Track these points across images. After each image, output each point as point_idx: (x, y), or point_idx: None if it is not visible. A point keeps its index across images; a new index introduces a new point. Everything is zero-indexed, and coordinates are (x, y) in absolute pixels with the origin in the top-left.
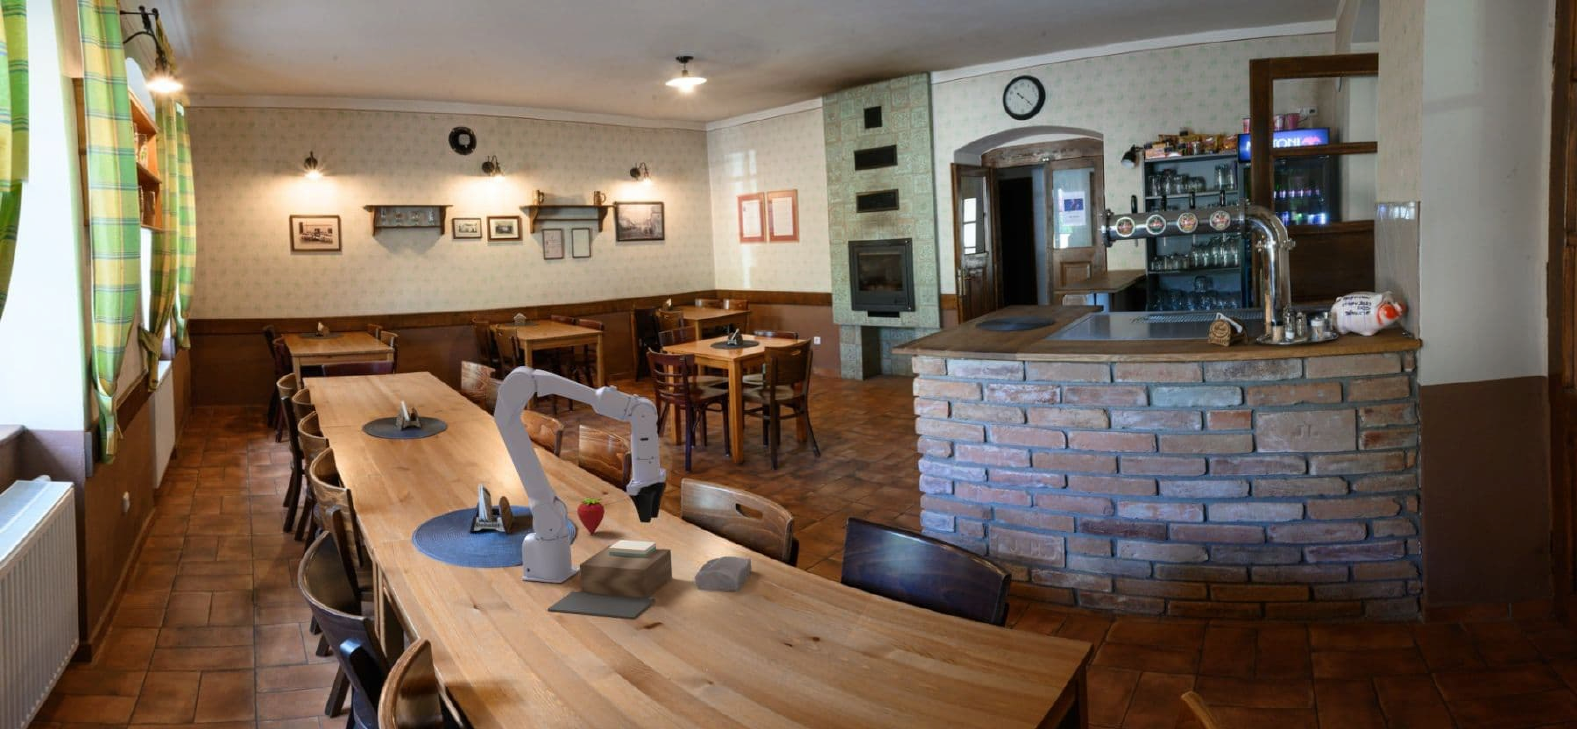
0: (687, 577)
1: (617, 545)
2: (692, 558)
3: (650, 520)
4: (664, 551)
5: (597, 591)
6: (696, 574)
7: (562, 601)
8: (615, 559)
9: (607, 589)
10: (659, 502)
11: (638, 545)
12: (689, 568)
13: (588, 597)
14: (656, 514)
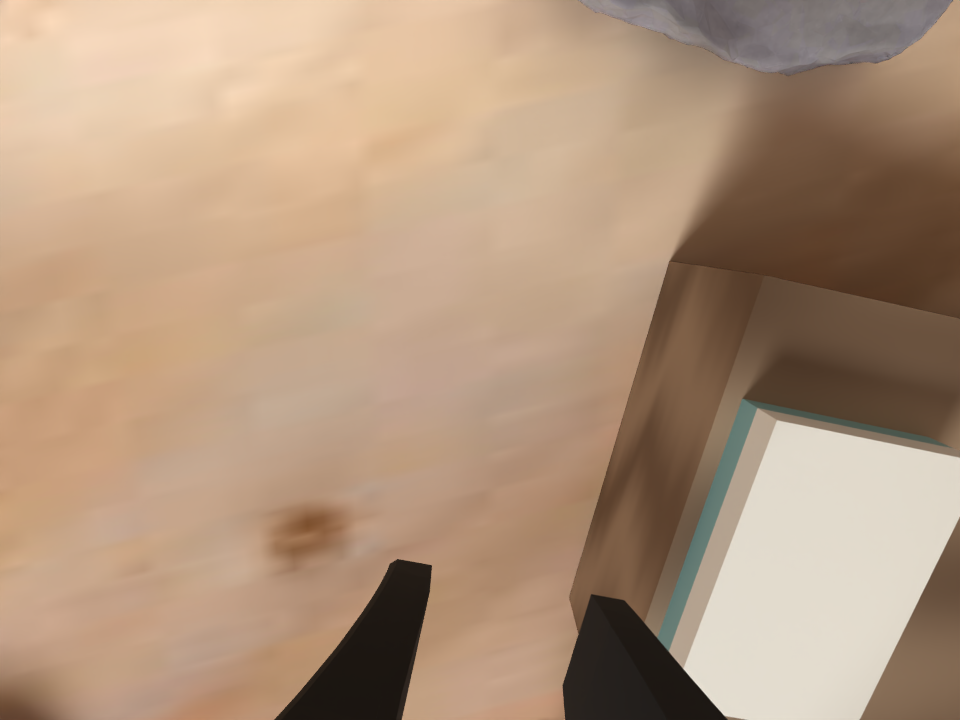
0: (666, 166)
1: (805, 695)
2: (324, 206)
3: (607, 605)
4: (804, 317)
5: None
6: (858, 48)
7: None
8: (923, 627)
9: None
10: (357, 700)
11: (837, 544)
12: (508, 187)
13: None
14: (427, 592)
